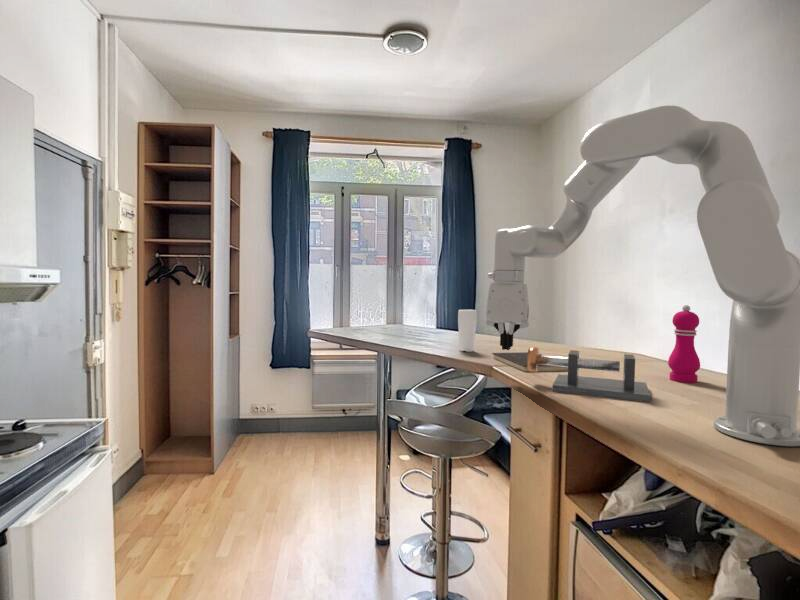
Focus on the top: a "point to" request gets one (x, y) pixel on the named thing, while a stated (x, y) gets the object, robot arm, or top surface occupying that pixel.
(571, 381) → the stand
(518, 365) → the hardcover book
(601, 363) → the shaft
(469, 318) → the drinking glass
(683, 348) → the pepper mill
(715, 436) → the top surface
